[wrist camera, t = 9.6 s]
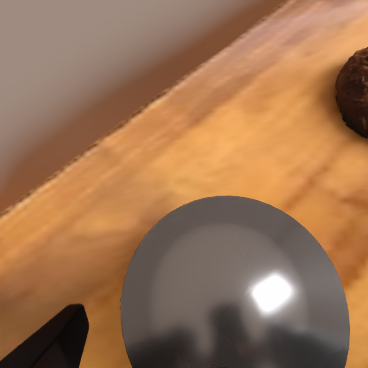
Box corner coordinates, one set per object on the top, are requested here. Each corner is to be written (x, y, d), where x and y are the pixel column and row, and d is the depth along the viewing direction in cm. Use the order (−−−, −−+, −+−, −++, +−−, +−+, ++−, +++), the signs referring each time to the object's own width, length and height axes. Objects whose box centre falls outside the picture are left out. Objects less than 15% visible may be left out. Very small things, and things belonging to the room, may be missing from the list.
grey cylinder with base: (187, 399, 15) (81, 836, 3) (139, 268, 18) (-7, 208, 6) (307, 333, 15) (636, 457, 3) (240, 219, 18) (290, 76, 7)
